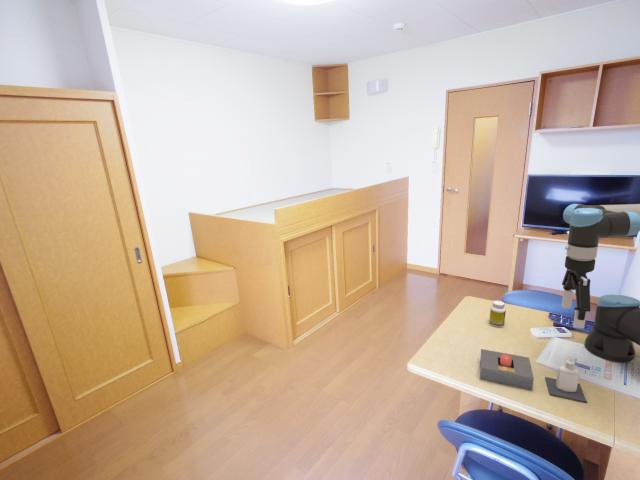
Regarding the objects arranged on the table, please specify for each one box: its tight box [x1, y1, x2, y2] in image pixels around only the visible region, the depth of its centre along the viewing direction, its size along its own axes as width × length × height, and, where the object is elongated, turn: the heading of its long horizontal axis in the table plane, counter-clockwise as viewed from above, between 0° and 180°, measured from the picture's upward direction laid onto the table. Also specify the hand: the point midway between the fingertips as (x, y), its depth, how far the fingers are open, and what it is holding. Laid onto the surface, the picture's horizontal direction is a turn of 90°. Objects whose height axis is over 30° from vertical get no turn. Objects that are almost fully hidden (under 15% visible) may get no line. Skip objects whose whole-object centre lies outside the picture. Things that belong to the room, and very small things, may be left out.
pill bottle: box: [488, 300, 507, 328], centre depth 154 cm, size 6×6×11 cm
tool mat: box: [544, 376, 588, 404], centre depth 113 cm, size 10×9×1 cm
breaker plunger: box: [500, 353, 512, 368], centre depth 121 cm, size 4×4×6 cm
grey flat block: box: [479, 348, 535, 391], centre depth 122 cm, size 16×12×5 cm
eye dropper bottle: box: [555, 357, 580, 392], centre depth 112 cm, size 4×6×12 cm
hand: (572, 317), depth 112 cm, fingers open, 13 cm apart
